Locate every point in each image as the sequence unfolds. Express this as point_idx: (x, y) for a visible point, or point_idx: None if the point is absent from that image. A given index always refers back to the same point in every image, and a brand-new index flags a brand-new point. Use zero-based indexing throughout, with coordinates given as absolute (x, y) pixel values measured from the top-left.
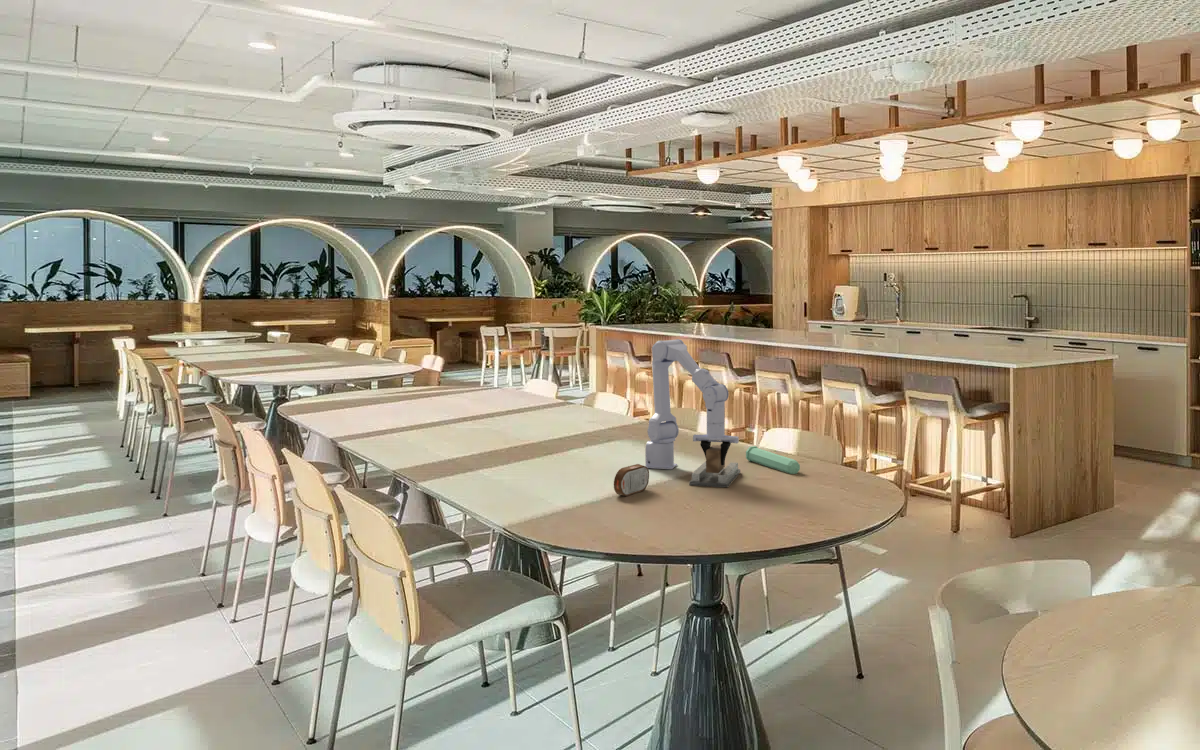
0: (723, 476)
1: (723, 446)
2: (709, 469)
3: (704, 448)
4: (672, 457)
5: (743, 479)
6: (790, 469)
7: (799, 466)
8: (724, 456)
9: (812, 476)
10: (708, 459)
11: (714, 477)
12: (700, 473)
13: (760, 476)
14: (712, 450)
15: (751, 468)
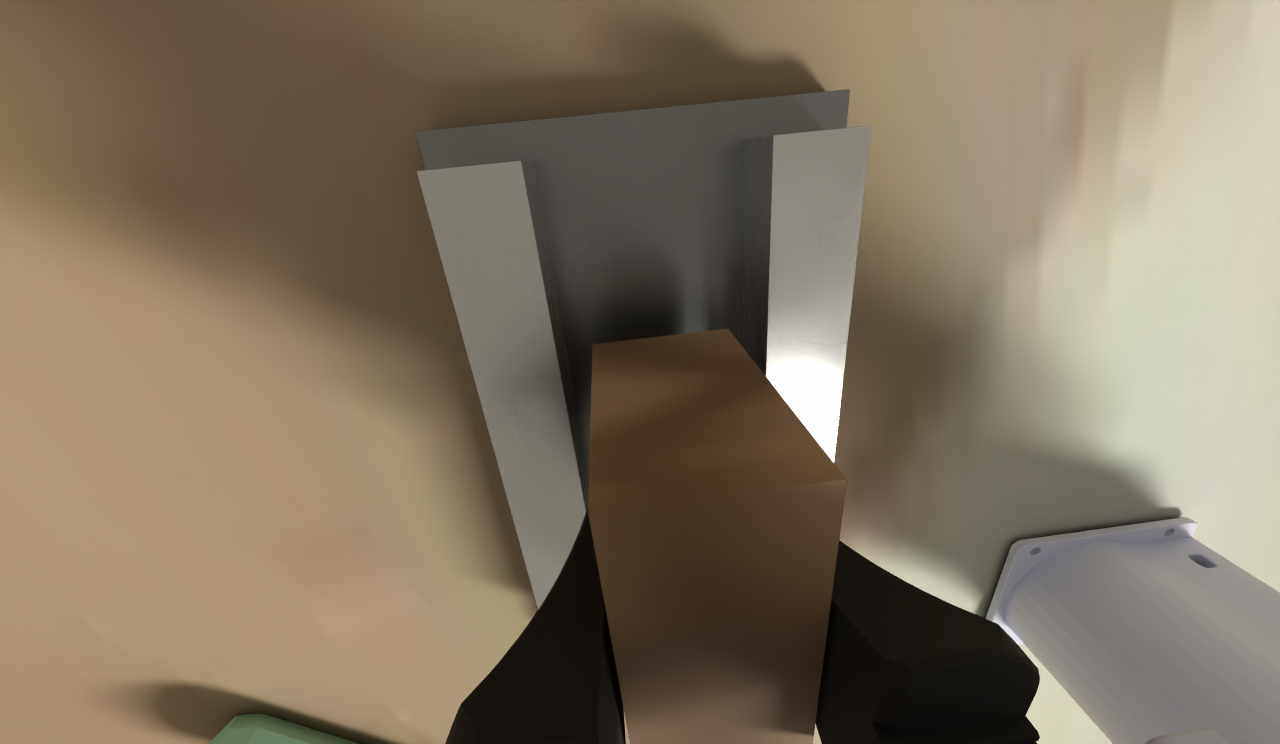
0: (456, 169)
1: (536, 702)
2: (697, 344)
3: (896, 602)
4: (1068, 648)
5: (454, 491)
6: (222, 740)
7: None
8: (561, 571)
9: (91, 712)
10: (743, 400)
11: None
12: (768, 199)
13: (390, 603)
14: (727, 536)
15: None
